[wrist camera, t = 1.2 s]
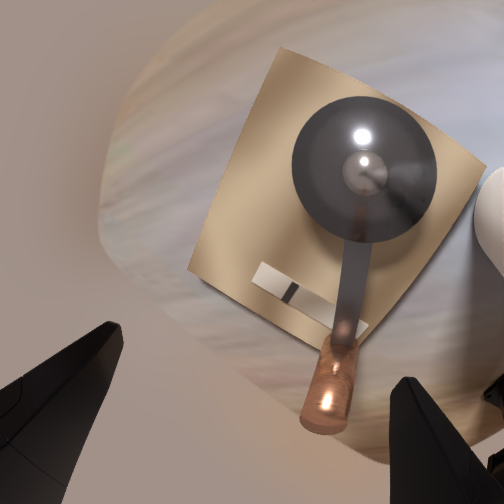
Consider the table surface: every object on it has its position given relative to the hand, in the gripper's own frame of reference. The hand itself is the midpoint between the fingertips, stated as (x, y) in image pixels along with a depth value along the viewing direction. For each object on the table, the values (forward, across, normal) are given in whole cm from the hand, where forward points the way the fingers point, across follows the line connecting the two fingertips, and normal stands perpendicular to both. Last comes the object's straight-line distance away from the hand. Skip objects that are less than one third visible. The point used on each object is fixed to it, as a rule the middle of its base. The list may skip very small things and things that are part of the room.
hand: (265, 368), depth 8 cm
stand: (+12, -3, 0) cm, 12 cm away
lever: (+9, -5, 0) cm, 10 cm away
